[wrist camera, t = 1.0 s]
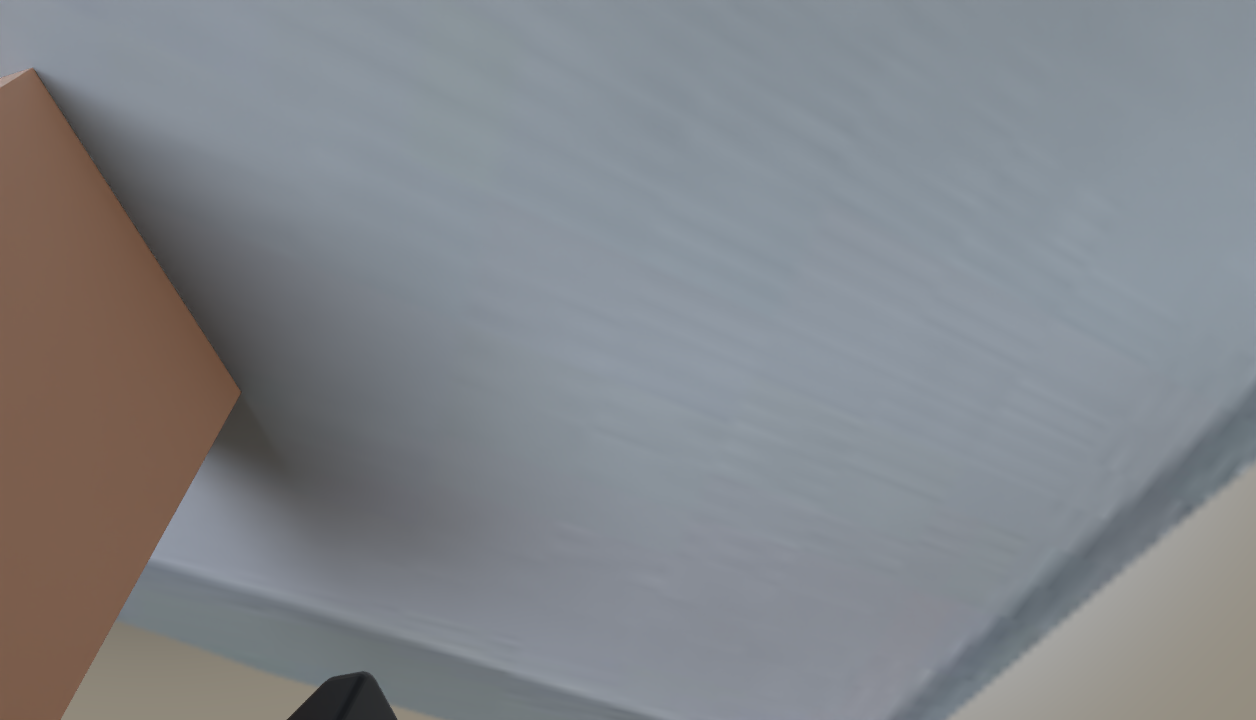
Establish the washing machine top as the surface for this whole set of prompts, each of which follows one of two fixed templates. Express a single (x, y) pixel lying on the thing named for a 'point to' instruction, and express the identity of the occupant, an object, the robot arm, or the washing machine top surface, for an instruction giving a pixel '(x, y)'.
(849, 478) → the washing machine top surface
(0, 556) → the block
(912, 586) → the washing machine top surface
